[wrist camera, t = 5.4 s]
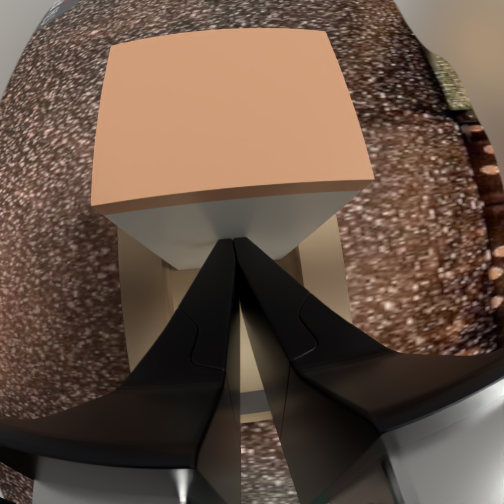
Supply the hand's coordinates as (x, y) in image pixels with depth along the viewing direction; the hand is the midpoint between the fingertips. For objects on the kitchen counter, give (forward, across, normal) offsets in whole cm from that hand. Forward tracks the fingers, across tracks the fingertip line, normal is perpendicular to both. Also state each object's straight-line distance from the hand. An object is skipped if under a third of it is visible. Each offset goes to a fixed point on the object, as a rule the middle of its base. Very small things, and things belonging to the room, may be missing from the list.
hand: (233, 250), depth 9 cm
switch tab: (+6, 0, +2) cm, 6 cm away
